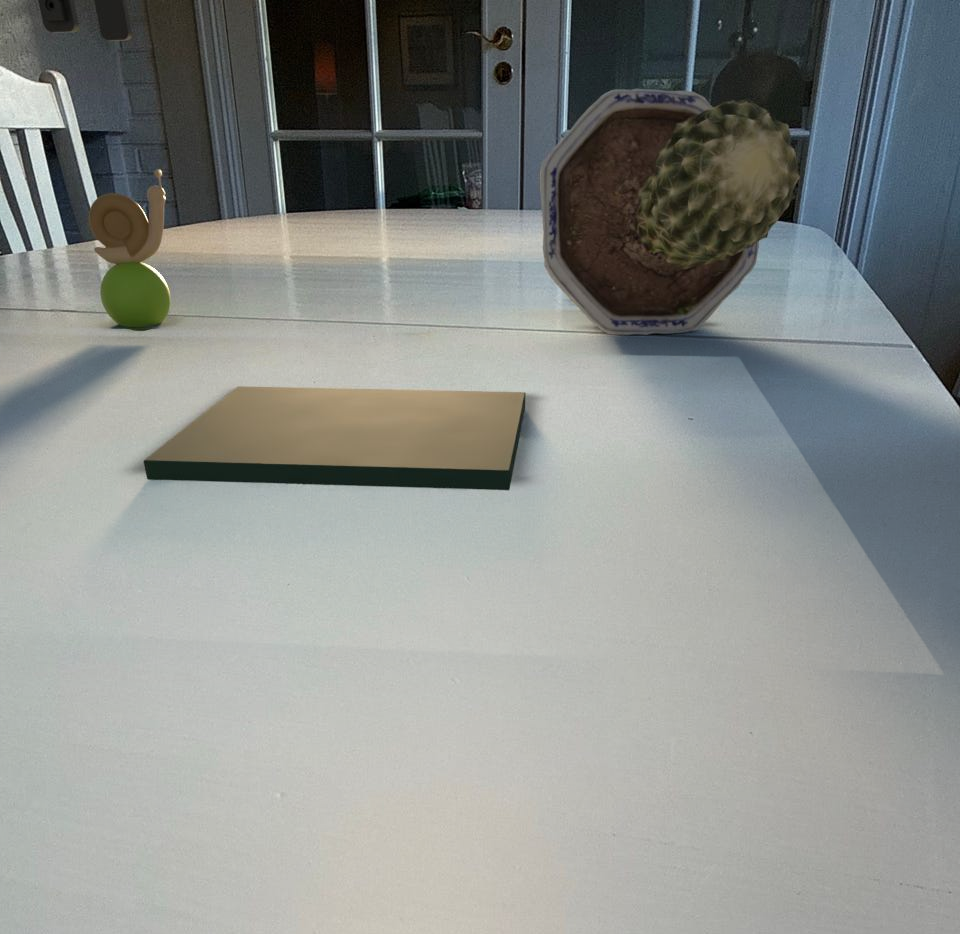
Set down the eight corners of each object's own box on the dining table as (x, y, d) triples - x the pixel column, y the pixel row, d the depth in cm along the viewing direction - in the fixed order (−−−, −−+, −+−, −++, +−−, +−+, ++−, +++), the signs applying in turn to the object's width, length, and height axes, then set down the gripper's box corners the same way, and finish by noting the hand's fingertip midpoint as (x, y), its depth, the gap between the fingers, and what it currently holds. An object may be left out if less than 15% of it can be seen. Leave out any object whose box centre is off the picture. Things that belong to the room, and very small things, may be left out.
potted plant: (510, 129, 78) (614, -15, 50) (705, 138, 81) (909, 7, 53) (508, 340, 83) (601, 319, 55) (692, 342, 86) (871, 323, 58)
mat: (146, 479, 44) (142, 460, 44) (239, 402, 56) (237, 386, 56) (509, 490, 43) (509, 470, 42) (525, 408, 55) (525, 391, 54)
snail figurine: (183, 335, 74) (156, 171, 68) (102, 338, 73) (67, 172, 67) (191, 322, 79) (165, 167, 72) (114, 325, 78) (82, 168, 72)
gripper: (34, -229, 64) (88, 44, 72) (-96, -310, 52) (-13, 30, 60) (135, -235, 63) (178, 42, 71) (28, -319, 51) (95, 27, 59)
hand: (91, 36), depth 65 cm, fingers open, 8 cm apart
